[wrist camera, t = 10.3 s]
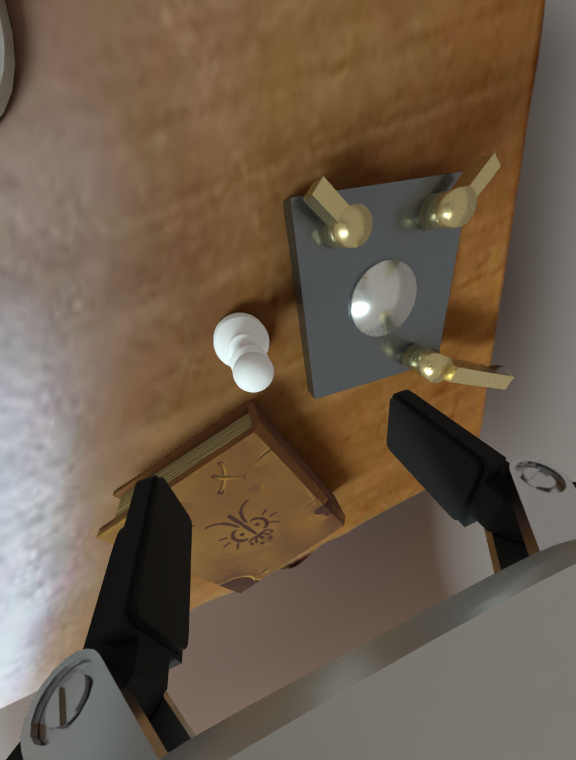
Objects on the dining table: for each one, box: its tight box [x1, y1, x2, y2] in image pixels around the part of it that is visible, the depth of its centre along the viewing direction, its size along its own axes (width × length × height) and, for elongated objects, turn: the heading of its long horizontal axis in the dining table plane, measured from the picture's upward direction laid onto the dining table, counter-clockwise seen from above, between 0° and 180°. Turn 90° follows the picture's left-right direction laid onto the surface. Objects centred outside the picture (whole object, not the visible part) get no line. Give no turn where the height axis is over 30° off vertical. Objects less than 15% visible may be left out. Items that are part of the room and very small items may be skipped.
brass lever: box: [401, 344, 514, 389], centre depth 27 cm, size 13×3×5 cm, turn 75°
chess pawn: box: [214, 313, 274, 392], centre depth 20 cm, size 5×5×9 cm
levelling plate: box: [283, 152, 501, 399], centre depth 23 cm, size 18×16×5 cm
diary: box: [97, 401, 345, 593], centre depth 31 cm, size 23×19×6 cm
